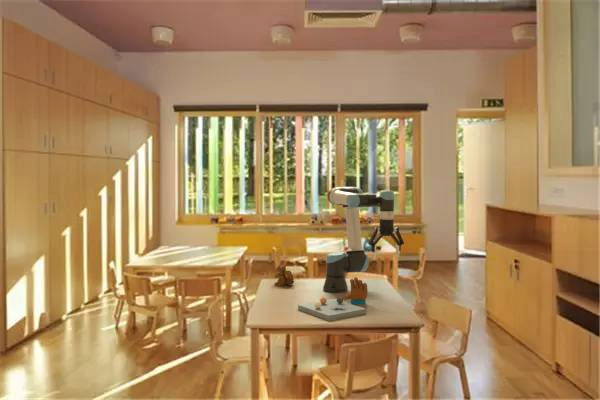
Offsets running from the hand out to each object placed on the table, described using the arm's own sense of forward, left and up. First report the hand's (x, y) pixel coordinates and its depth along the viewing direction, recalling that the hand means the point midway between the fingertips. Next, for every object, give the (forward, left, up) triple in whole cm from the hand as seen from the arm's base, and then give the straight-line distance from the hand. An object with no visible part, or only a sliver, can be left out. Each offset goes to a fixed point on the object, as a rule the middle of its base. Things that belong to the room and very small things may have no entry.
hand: (386, 257), depth 273 cm
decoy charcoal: (-6, -27, -21) cm, 35 cm away
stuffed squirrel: (-74, -18, -26) cm, 80 cm away
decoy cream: (-4, -43, -21) cm, 48 cm away
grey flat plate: (-3, -35, -26) cm, 44 cm away
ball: (-10, -35, -21) cm, 42 cm away
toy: (-9, -13, -26) cm, 30 cm away
